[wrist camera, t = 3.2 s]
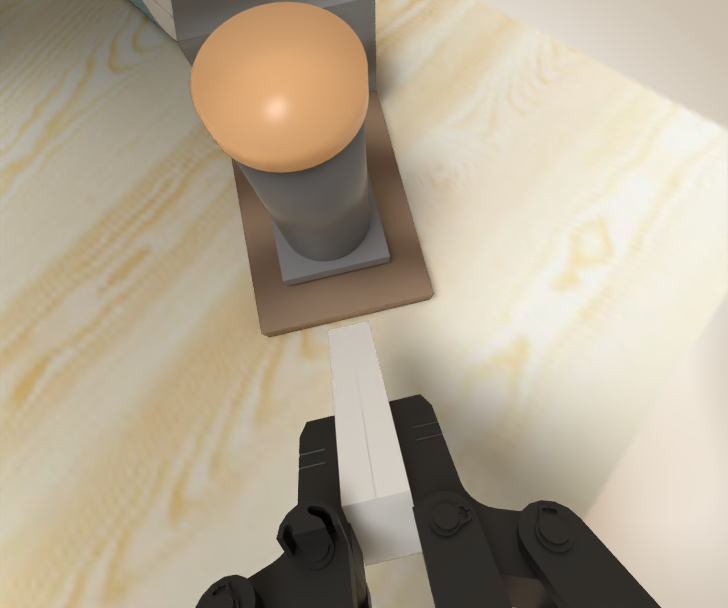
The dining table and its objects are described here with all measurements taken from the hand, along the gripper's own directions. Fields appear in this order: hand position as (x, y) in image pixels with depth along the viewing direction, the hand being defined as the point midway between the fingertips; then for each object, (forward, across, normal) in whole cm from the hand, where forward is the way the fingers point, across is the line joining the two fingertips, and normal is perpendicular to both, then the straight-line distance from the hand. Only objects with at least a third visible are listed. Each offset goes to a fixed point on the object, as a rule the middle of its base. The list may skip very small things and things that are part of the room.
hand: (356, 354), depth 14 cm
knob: (+10, 0, +2) cm, 10 cm away
